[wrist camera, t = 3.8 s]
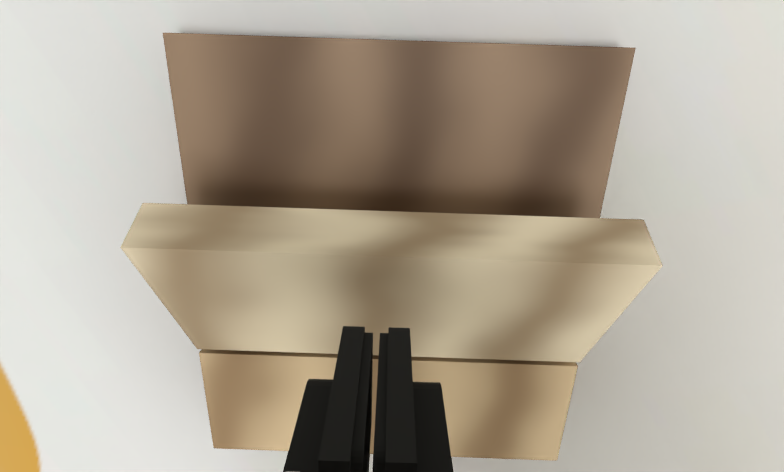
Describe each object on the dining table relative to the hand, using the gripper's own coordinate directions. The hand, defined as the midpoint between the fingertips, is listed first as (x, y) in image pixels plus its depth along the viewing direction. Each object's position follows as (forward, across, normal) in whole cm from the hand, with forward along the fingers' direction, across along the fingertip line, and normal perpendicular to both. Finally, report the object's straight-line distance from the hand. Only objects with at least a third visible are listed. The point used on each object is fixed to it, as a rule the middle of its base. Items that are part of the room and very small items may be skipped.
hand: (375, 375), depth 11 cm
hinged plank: (+8, 0, +1) cm, 8 cm away
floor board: (+12, 0, +3) cm, 12 cm away
